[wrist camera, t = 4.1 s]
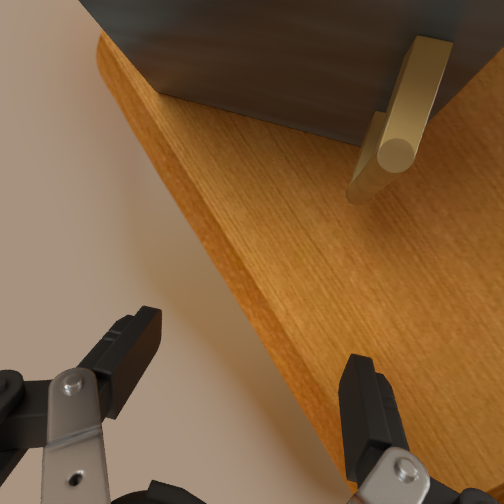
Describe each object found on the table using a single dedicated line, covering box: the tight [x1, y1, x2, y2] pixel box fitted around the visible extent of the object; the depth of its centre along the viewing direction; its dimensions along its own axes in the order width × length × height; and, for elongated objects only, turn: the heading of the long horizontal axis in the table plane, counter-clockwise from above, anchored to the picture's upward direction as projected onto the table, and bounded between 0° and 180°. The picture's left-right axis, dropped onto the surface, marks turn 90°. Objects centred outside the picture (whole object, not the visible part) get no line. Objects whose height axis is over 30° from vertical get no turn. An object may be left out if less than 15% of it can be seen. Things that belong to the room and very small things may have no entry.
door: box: [79, 0, 504, 205], centre depth 21 cm, size 8×26×24 cm, turn 72°
